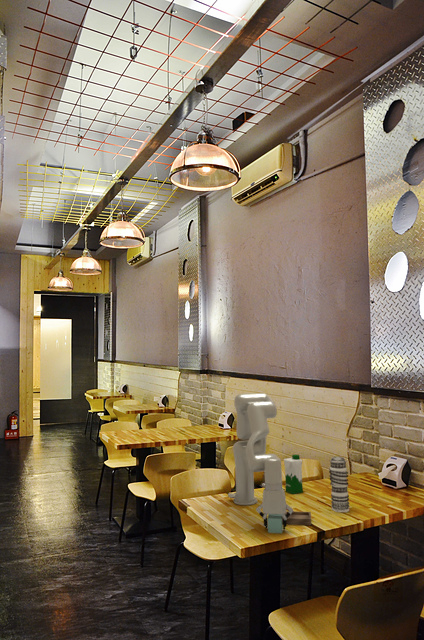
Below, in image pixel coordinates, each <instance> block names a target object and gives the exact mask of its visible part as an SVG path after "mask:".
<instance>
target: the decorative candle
mask: <svg viewBox="0 0 424 640" xmlns="http://www.w3.org/2000/svg"><path fill="white" fill-rule="evenodd" d="M329 462H330V463H329V464H330V467H329V471H328V473H329V481H330V486H331V494H330V497H331V498H330V499H331V510H332V511H334V512H336V513H347V512H349V511H350V498H349V497H350V496H349V491H348V486H349V479H348V477H349V472H348V471H347V470H348V468H347V460H346V459H345V458H344V456H333V457H331V459H330V460H329Z"/></svg>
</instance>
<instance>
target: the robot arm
mask: <svg viewBox="0 0 424 640" xmlns="http://www.w3.org/2000/svg"><path fill="white" fill-rule="evenodd" d="M233 402H234V407H235V411H236V437H237V438H238V439H239V440H238V441H237V442H235V443H234V444H233V446H232V451H233V457H234V468H235V469H234V470H235V471H234V472H235V492H234V493H228V494H227V497H228V498H229V499H233V503H234V504H236V505H240V506H250V505H255V504H257V503H258V498H257V497H255V485H254V483H255V482H254V481H255V480H254V479H255V478H254V473H260V472H261V473H262V472H264V483H261V487H263V488H264V489H263V491H262V503H261V504H260V505H259V506H258V507H256V509H255V510H256V512H257V514H259V516H260V517H261V518H262V519H263V527H265V529H266V530H268V514H275V515H282V516H283V524H282V525H283V530H286V528H287V527H288V526H287V523H286V520H287V518H288V517H289V516H290V515H291V514H292V512H293V511H294V509H293V508H292V506H289V504H288V503H287V500H286V494H285V492H286V491H285V489H284V488H283V475H282V473H283V472H282V460H281V458H280V457H278V455H276V454H275V453H266V452H267V451H266V450H267V436H268V435H269V434H270V428H269V424H268V419H274V418H276V417H277V415H278V414H277V413H278V409H277V405H276V404H275V402H274V400H273V399H272V397H270V395H268V394H267V393H265V392H257V393H240V394H239V393H238V394H236V395H235V397H234V401H233ZM286 508H287V511H289V512H288V513H287V514H285V513H286ZM261 509H262V510H261Z"/></svg>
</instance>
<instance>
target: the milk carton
mask: <svg viewBox="0 0 424 640" xmlns="http://www.w3.org/2000/svg"><path fill="white" fill-rule="evenodd" d="M291 456H292V457H288V458H283V464H284V475H285V476H284V477H285V479H284V480H285V492H286V493H289V494H291V495H297V494H301V493H304V490H303V489H304V488H303V486H304V485H303V475H302V473H303V471H302V465H303V459H301V458H300V454H292V455H291Z"/></svg>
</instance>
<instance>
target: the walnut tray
mask: <svg viewBox="0 0 424 640" xmlns="http://www.w3.org/2000/svg"><path fill="white" fill-rule="evenodd" d="M288 512H289V510H288V509H287V508H286V513H285V514H287V513H288ZM311 513H312V512H311V511H294V510H293V512H292V514H291V515H290V516H289V517H288V518H287V520H286V523H287V524H288V525H293V526H294V525H295V526H312V514H311ZM282 525H283V516H282Z"/></svg>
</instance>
